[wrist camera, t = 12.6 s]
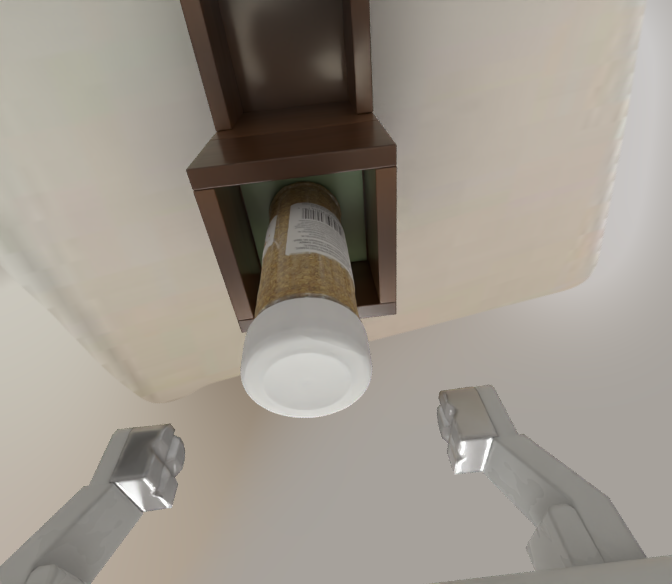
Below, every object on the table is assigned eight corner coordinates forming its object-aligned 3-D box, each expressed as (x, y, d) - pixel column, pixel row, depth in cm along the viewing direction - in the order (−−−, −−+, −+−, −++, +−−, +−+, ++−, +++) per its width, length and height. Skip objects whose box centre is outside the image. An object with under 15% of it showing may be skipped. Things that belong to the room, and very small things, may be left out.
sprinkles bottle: (254, 212, 23) (208, 384, 12) (307, 162, 21) (309, 309, 10) (305, 258, 25) (305, 438, 14) (357, 216, 23) (401, 382, 13)
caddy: (196, -34, 22) (97, -84, 11) (353, -53, 22) (397, -121, 11) (261, 233, 33) (241, 333, 22) (367, 221, 33) (396, 314, 22)
